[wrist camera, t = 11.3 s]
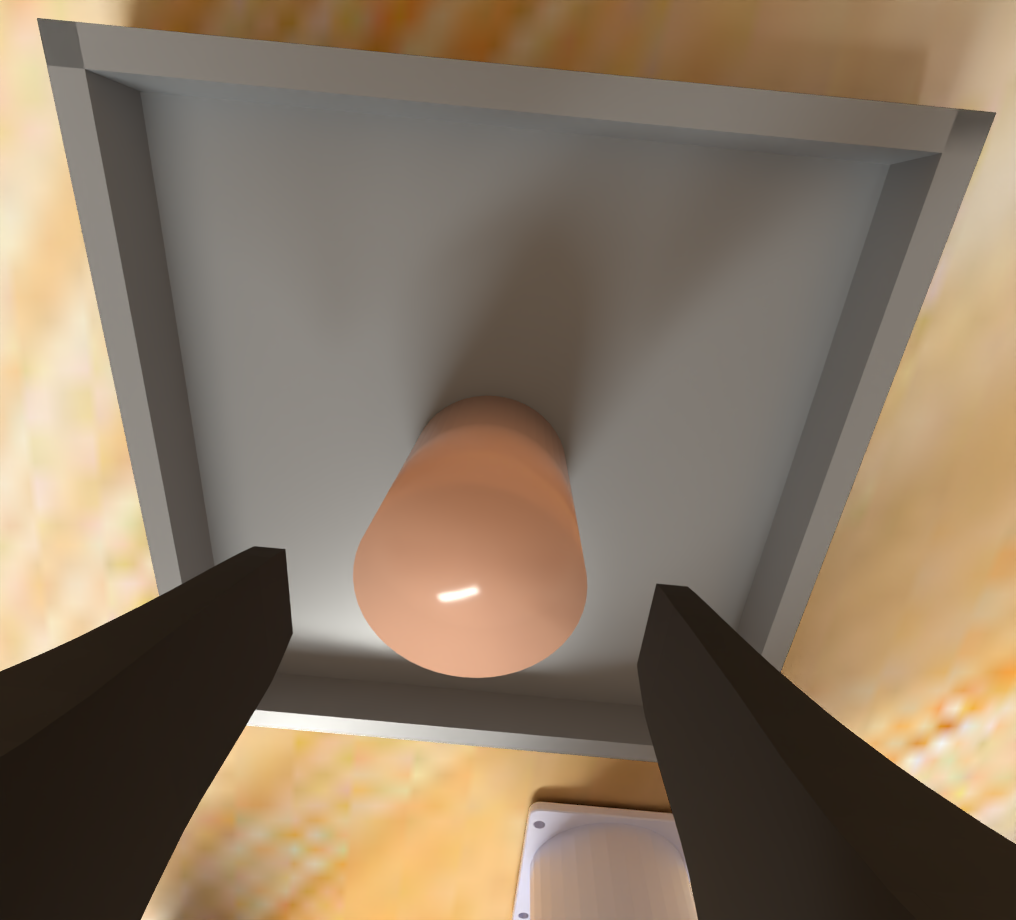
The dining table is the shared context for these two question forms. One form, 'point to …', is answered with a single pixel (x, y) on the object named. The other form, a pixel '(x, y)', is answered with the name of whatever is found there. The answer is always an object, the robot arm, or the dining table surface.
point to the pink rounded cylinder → (476, 545)
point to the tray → (495, 331)
